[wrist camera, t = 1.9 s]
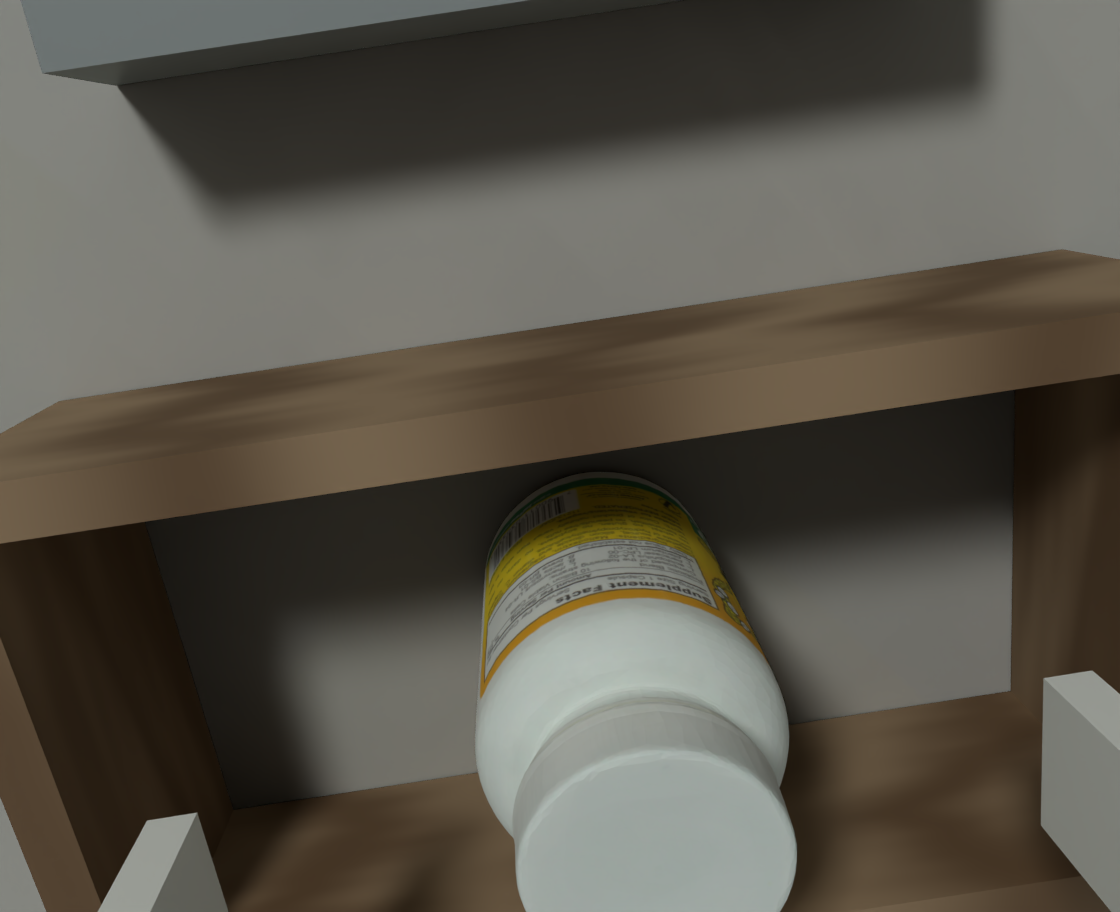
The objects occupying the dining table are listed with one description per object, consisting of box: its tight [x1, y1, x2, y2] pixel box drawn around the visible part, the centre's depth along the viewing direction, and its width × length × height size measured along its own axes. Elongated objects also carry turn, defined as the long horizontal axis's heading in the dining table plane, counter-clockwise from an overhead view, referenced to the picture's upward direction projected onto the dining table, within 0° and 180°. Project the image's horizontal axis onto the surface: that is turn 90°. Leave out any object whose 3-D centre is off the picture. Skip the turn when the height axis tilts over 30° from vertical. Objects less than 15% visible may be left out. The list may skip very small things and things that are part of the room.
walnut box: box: [0, 250, 1120, 912], centre depth 19 cm, size 22×12×6 cm, turn 98°
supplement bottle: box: [475, 472, 797, 912], centre depth 17 cm, size 5×5×10 cm
